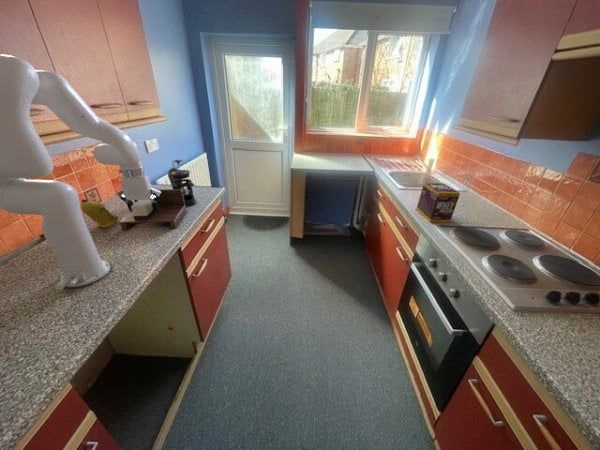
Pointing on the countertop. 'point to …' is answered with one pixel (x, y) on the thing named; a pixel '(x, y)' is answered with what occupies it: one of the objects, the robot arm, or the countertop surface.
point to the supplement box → (437, 202)
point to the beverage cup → (173, 178)
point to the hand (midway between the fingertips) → (144, 210)
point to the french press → (188, 192)
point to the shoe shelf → (162, 210)
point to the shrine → (98, 213)
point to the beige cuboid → (142, 209)
